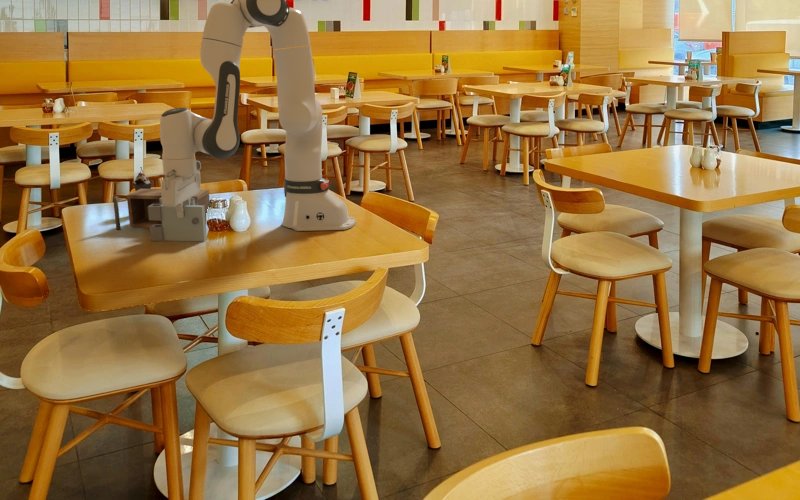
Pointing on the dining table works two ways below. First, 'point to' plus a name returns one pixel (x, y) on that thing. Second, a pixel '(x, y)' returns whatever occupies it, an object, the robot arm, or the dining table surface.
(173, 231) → the door
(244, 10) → the robot arm
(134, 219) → the cabinet
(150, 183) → the sundae
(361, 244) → the dining table surface
